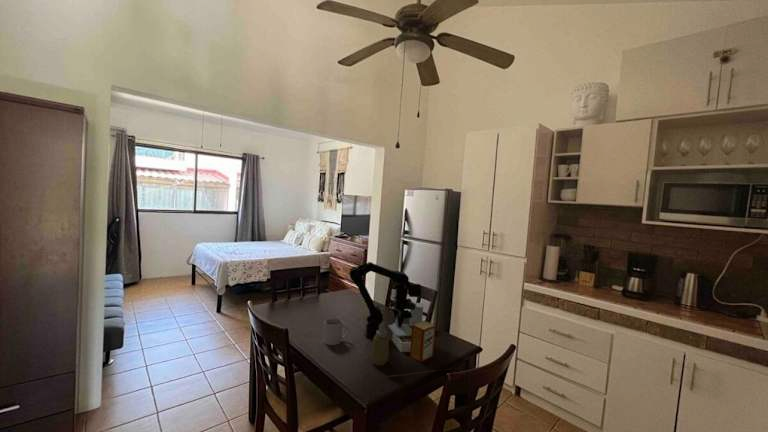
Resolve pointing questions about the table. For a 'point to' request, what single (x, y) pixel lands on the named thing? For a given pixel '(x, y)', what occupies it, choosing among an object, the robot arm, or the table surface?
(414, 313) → the supplement box
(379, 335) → the squeeze bottle
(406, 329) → the lid
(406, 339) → the block
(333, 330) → the mug
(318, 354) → the table surface
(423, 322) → the baking soda box
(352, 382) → the table surface
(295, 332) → the table surface
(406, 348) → the tub
